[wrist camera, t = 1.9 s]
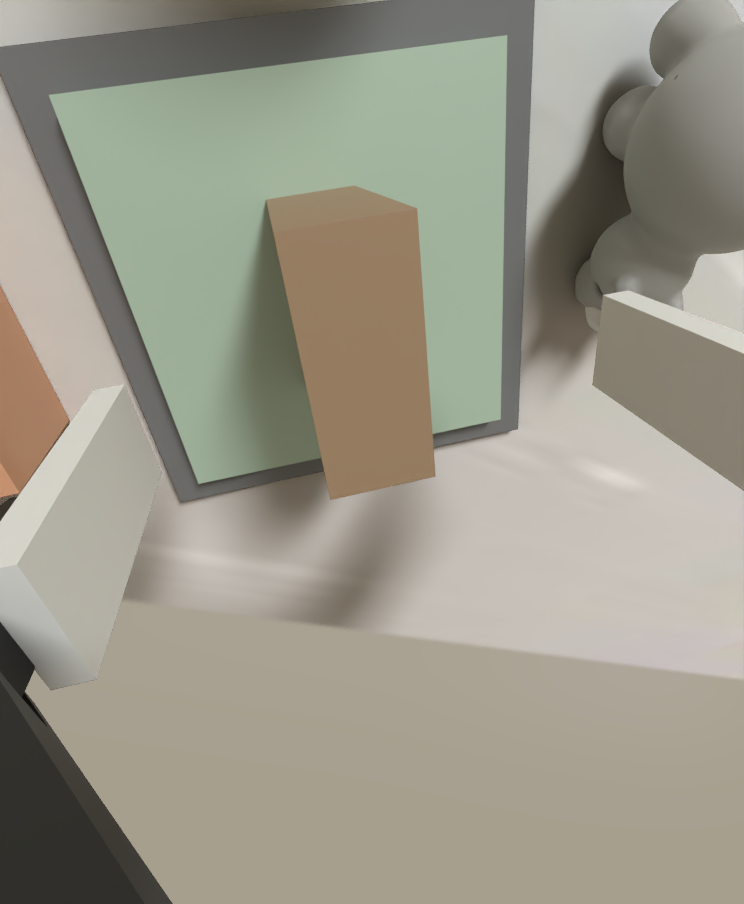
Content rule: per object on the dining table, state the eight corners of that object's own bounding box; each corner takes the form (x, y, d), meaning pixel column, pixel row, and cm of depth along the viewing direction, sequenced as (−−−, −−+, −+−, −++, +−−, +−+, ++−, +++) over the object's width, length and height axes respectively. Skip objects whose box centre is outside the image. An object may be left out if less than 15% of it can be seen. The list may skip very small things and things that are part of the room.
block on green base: (58, 97, 17) (-126, 49, 9) (496, 40, 19) (687, -46, 11) (200, 473, 26) (174, 628, 18) (493, 411, 28) (597, 526, 19)
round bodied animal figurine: (501, 251, 26) (545, 360, 21) (678, -53, 18) (827, 7, 12) (610, 285, 29) (674, 392, 23) (816, 30, 20) (994, 111, 15)
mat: (-3, 51, 17) (-11, 48, 16) (527, -13, 19) (535, -18, 18) (181, 495, 27) (180, 502, 27) (513, 424, 29) (518, 429, 28)
